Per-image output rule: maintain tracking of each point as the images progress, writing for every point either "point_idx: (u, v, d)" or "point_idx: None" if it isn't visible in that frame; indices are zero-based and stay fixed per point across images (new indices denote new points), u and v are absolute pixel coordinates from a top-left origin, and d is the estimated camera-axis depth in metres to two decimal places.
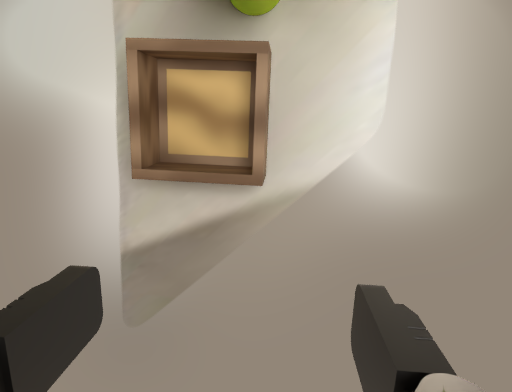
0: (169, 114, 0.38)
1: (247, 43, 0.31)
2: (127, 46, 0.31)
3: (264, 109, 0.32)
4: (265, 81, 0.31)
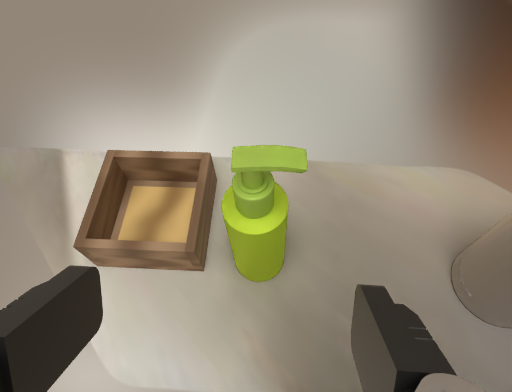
0: (164, 188, 0.46)
1: (194, 235, 0.37)
2: (204, 153, 0.42)
3: (139, 248, 0.36)
4: (162, 249, 0.36)
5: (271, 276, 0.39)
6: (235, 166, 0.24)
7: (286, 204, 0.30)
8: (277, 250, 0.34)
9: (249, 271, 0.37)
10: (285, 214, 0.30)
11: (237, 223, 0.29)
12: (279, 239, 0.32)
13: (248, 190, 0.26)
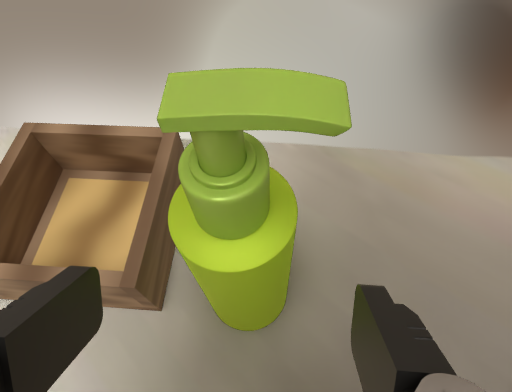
0: (113, 182, 0.31)
1: (139, 258, 0.22)
2: None
3: (44, 279, 0.22)
4: None
5: (266, 324, 0.25)
6: (167, 115, 0.09)
7: (293, 211, 0.15)
8: (275, 291, 0.19)
9: (230, 319, 0.23)
10: (291, 231, 0.15)
11: (194, 248, 0.15)
12: (279, 275, 0.17)
13: (211, 178, 0.12)
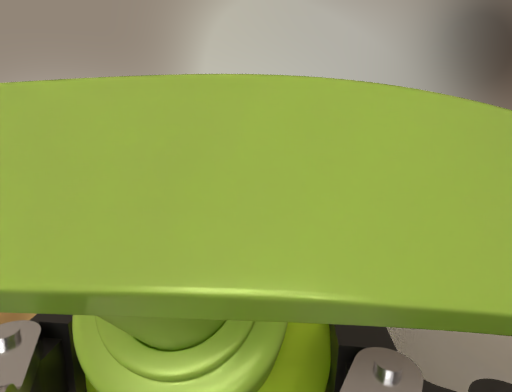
0: None
1: None
2: None
3: None
4: None
5: None
6: None
7: (324, 342, 0.08)
8: None
9: None
10: (322, 388, 0.08)
11: None
12: None
13: (144, 357, 0.05)
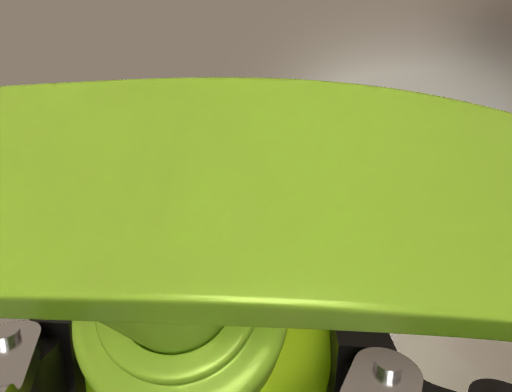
0: None
1: None
2: None
3: None
4: None
5: None
6: None
7: (325, 344, 0.08)
8: None
9: None
10: (322, 390, 0.08)
11: None
12: None
13: (144, 360, 0.05)
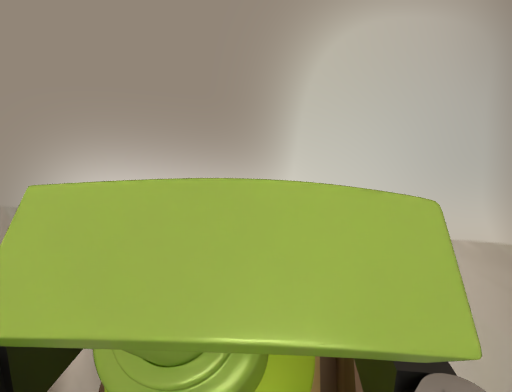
0: None
1: None
2: None
3: None
4: None
5: None
6: None
7: None
8: None
9: None
10: None
11: None
12: None
13: (148, 371, 0.06)
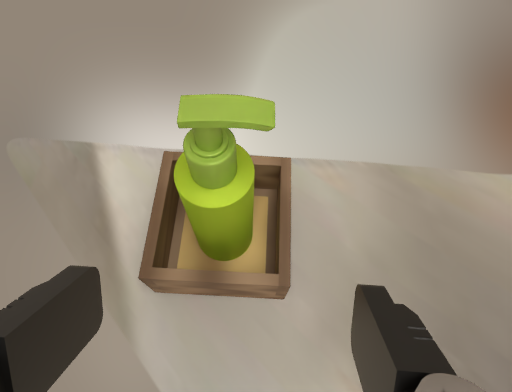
0: None
1: (287, 264, 0.30)
2: (284, 158, 0.35)
3: (222, 281, 0.29)
4: (250, 282, 0.29)
5: (237, 255, 0.35)
6: (182, 120, 0.19)
7: (252, 172, 0.25)
8: (242, 226, 0.29)
9: (212, 250, 0.33)
10: (250, 184, 0.25)
11: (191, 194, 0.24)
12: (244, 214, 0.27)
13: (203, 152, 0.21)
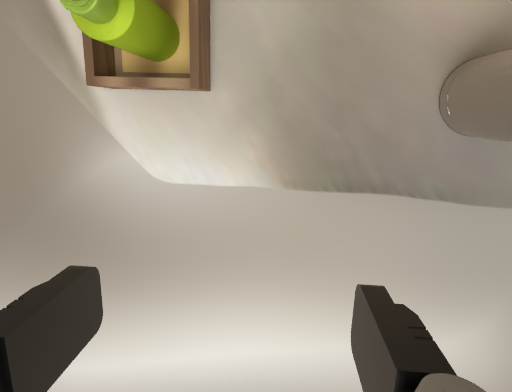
0: None
1: (196, 70, 0.38)
2: None
3: (148, 85, 0.39)
4: (169, 86, 0.39)
5: (167, 57, 0.42)
6: None
7: (132, 3, 0.29)
8: (150, 42, 0.35)
9: (141, 56, 0.40)
10: (132, 16, 0.30)
11: (87, 29, 0.30)
12: (143, 35, 0.33)
13: (73, 2, 0.26)
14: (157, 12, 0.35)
